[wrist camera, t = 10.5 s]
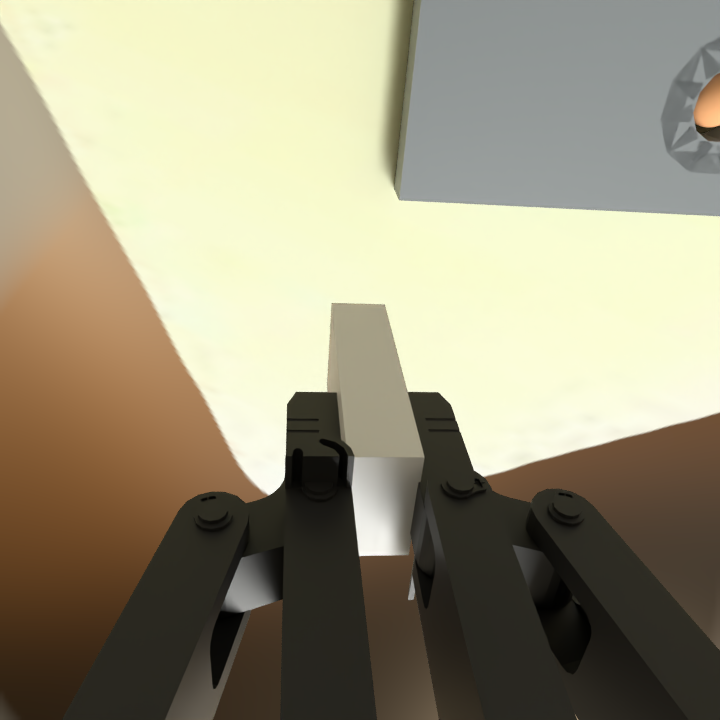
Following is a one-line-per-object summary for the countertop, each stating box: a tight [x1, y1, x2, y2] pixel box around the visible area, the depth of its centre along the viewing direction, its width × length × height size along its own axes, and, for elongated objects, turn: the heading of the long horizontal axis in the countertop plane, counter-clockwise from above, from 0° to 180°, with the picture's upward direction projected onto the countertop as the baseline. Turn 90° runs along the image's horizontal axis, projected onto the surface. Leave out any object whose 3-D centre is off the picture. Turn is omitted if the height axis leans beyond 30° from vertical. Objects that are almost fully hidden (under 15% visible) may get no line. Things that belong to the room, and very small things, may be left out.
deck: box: [394, 0, 720, 216], centre depth 40 cm, size 28×14×2 cm, turn 85°
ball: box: [693, 73, 720, 127], centre depth 40 cm, size 3×3×3 cm
